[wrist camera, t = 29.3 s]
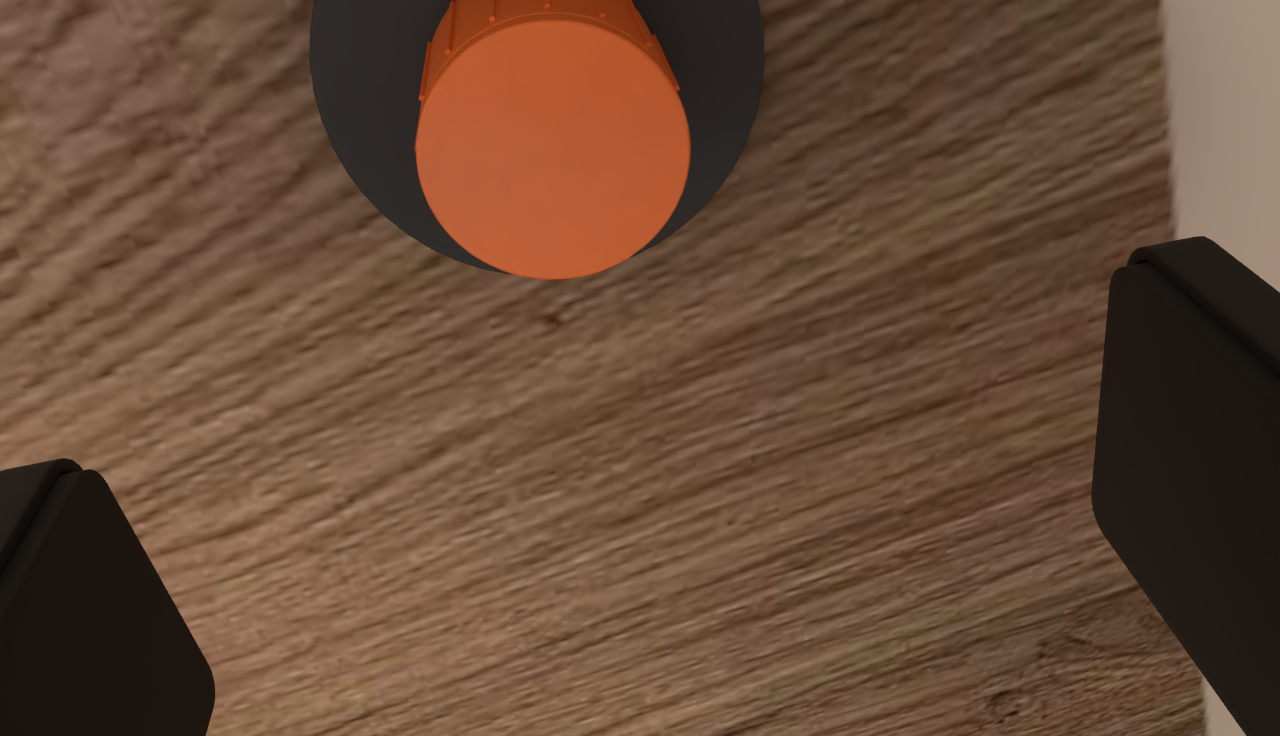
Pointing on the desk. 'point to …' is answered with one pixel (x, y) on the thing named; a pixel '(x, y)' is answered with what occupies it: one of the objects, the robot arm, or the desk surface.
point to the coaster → (389, 101)
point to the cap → (550, 134)
